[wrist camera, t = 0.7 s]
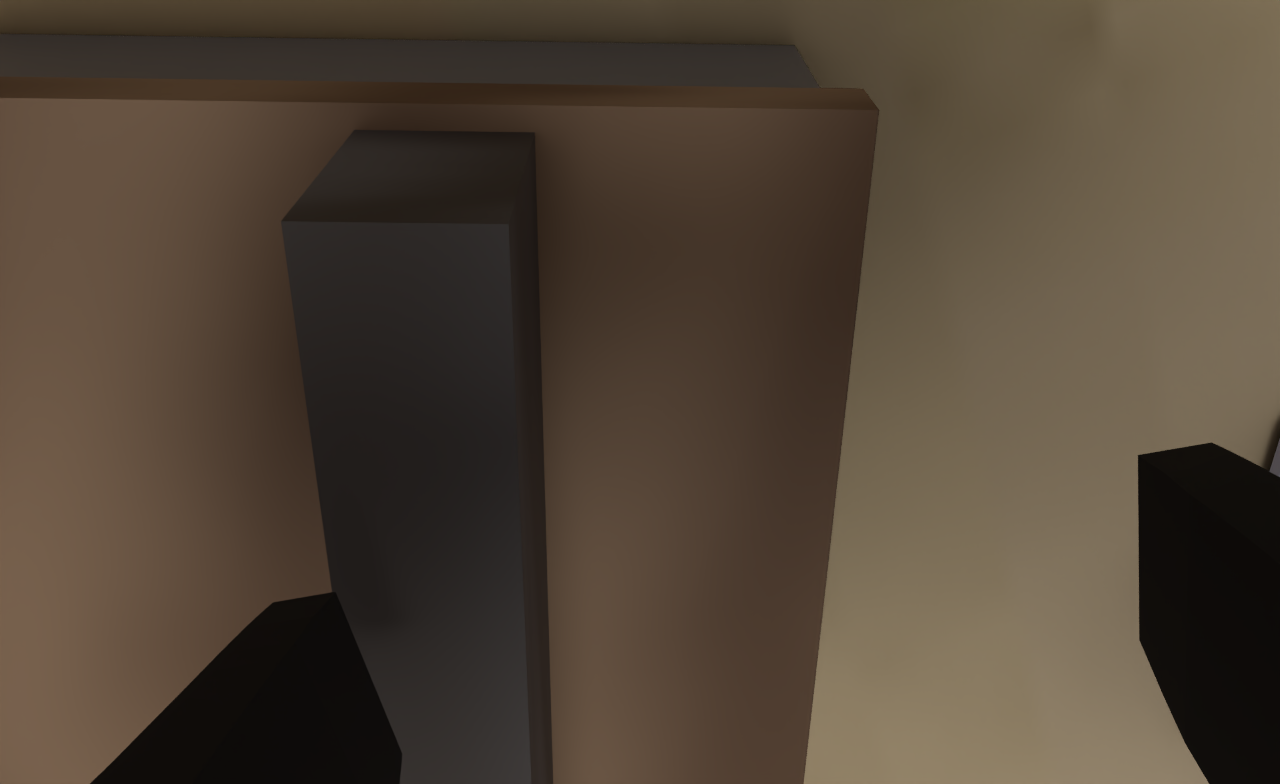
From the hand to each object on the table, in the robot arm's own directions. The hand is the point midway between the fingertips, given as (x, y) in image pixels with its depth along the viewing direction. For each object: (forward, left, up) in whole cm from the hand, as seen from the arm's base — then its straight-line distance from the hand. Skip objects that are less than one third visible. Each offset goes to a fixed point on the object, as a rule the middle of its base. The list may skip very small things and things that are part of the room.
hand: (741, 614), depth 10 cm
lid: (+5, +3, -5) cm, 8 cm away
